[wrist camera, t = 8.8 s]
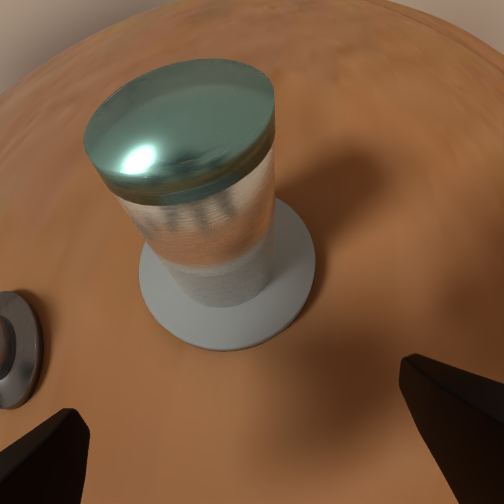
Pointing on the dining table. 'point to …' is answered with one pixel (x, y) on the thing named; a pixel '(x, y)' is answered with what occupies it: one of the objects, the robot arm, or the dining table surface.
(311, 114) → the dining table surface
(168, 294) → the coaster
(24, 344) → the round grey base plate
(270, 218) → the drinking glass
